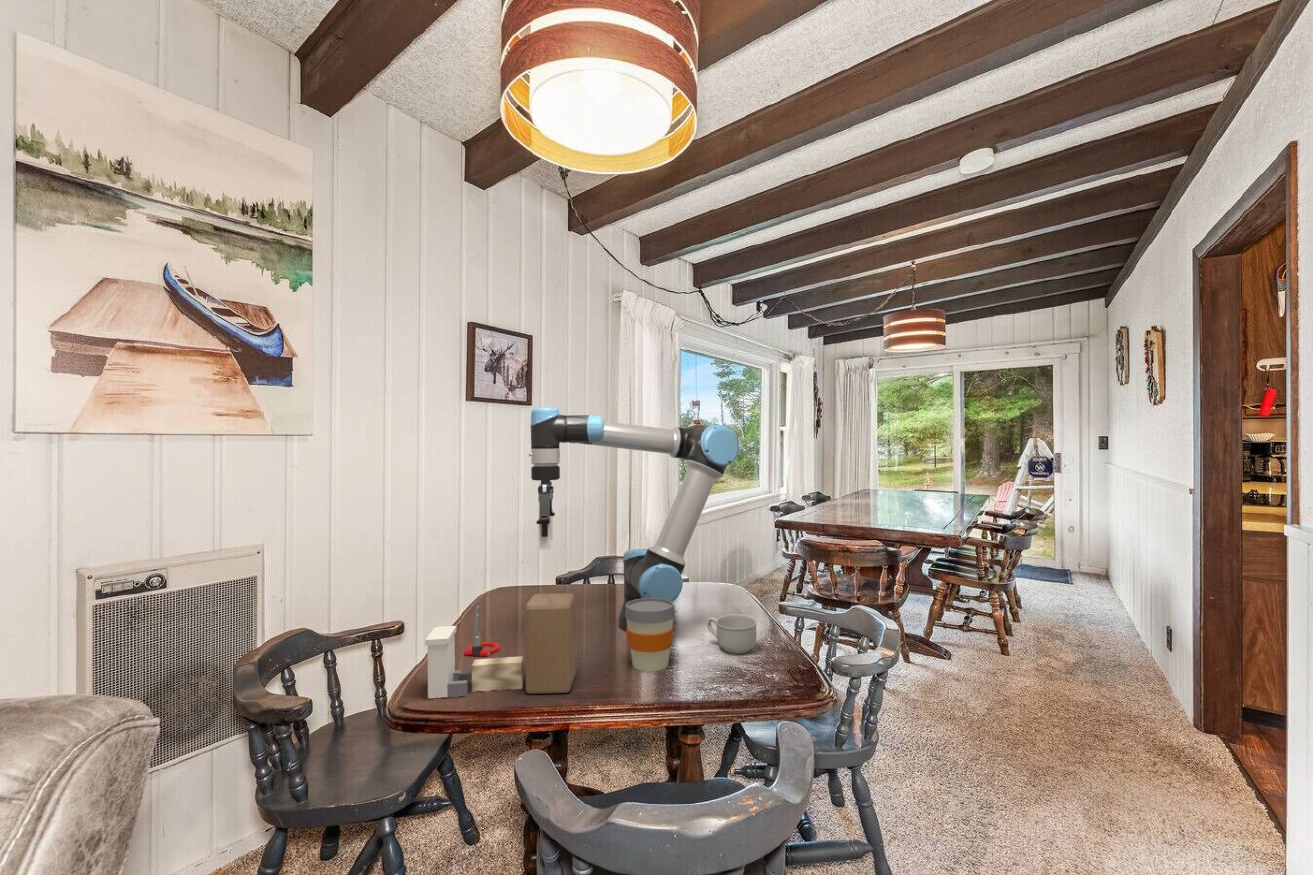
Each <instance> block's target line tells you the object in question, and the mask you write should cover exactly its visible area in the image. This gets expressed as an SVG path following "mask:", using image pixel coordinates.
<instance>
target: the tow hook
mask: <svg viewBox="0 0 1313 875" xmlns="http://www.w3.org/2000/svg"><path fill="white" fill-rule="evenodd" d="M475 611H476V612H475V617H474V619H475V622H474V637H473V639H474V640H473V644H471V645H470V646H468V648H467V649H464V652H463V654H464V656H469V655H471V656H472V657H479V656H480V657H490V654H493V653H496V652H498V651H500V649H501V644H500V643H498V642H494V641H493V642H492V641H485V642H481V634H480V632H481V631H480V630H481V628H480V627H481V614H480V606H479V605H477V606H476V608H475ZM482 646H484V647H491V646H492V648H488V649H483V647H482Z"/></svg>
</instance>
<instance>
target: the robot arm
mask: <svg viewBox="0 0 1313 875" xmlns="http://www.w3.org/2000/svg"><path fill="white" fill-rule="evenodd" d="M530 414H531V415H530V449H531V452H529V453H528V456H529V457H530V458H531V465H532V466H531V468H530V470H531V471H530V472H531V476H530V477H531V478H530V479H531V480H532V481H540V484H539V485H538V487H537V493H538V502H539V508H538V510H539V511H538V512H539V516H538V517H539V518H538V520H536V525H538V526H539V527H538V528H539V531H538V532H539V534H538V536H539V541H538V542H539V551H540V550H541V551H542V550H551V541H553V517H555V512H553V511H554V510H553V500H554V499H553V498H554V485H553V486H552V484H553V483H552V481H557V480H559V479H560V478H561V472H560V471H561V470H560V469H561V468H560V465H559V464H560V463H561V454H560V453H561V448H560V444H561V443H562V444H563V443H564V444H565V443H569V444H580V445H582V444H583V445H588V446H589V445H591V446H599V447H609V448H618V449H624V450H632V451H633V450H634V451H641V452H650V453H660V454H667V455H668V454H669V456H670V457H671V458H674V459H681V460H685V462H686V465H687V471H686V473H685V475H684V477H683V479H682V482H681V485H680V487H679V489H678V492H677V494H676V496H675V497H674V501H673V503H672V505H671V508H670V510H669V512H668V515H667V517H666V519H665V522H664V524H663V526H662V528H661V530H660V531H661V532H659V535H658V538H657V541H656V543H655V544H654V545H652V546H649V547H648V548H638V549H637V548H636V549H627V550H626V551H625V552H624V553H623V559H622V563H623V603H622V606H621V609H620V612H619V616H618V627H619V628H620V629H622V630H624V631H626V627H627V619H626V618H625V609H626V604H627V603H628V602H630V601H632V600H636V599H642V598H660V599H666V600H669V601H671V602H673V603H674V601H675V600H676V599H678V597H679V596H680V594H681V592H682V590H683V589H682V588H683V577H682V575H683V571H684V570H685V567H686V562H685V560H684V555H685V552H686V550H687V548H688V545H689V544H690V543H689V542H690V541H691V539H692V536H693V534H694V532H695V528H696V527H697V524H698V522H699V520H700V517H701V515H702V513H703V510H704V508H705V505H706V503H707V501H708V498H709V497H710V493H711V491H712V489H713V486H714V484H715V482H716V481H717V480H718V479H720V478H723V477H724V474H725V471H726V469H727V467H728V466H729V465H731V464H732V463H734V462H735V461H736V459H737V458H738V456H739V453H740V441H739V439H738V436H737V434H736V433H735V432H734V431H733V430H732V429H731V428H730V427H728V426H725V425H723V424H722V425H721V424H711V425H703V426H702V425H701V426H694V427H681V426H680V427H678V426H675V427H674V428H672V429H668V428H662V427H661V428H660V427H653V426H652V427H651V426H645V425H636V424H629V423H621V422H612V421H606V420H605V421H604V419H603V417H602V416H600V415H594V414H593V415H592V414H583V415H581V414H580V415H579V414H577V415H576V414H575V415H574V414H573V415H570V414H569V415H566V414H561V413H560V409H559V408H558V407H547V406H546V407H535V408H533V409H532V410H531V412H530Z"/></svg>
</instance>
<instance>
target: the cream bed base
mask: <svg viewBox="0 0 1313 875" xmlns="http://www.w3.org/2000/svg"><path fill="white" fill-rule="evenodd" d="M457 627H458V626H457V625H446V626H435V627H434V628H433V629H432V631H431V632H430V633H429V635H428V636H427V637H426V638H425V640H424V646H427V699H428V698H436V697H437V698H441V697H453V696H466V695H467V696H468V694H467V693H468V684H467V680H462V681H459V677H458V674H459V672H460V670H461V669H460V670H459V669H458V670H456V669H455V668H456V667H455V666H456V661H455V660H456V659H455V658H456V656H455V655H456V654H455V650H456V649H455V647H456V645H455V642H456V641H455V634H456V632H457ZM467 696H466V697H467Z"/></svg>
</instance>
